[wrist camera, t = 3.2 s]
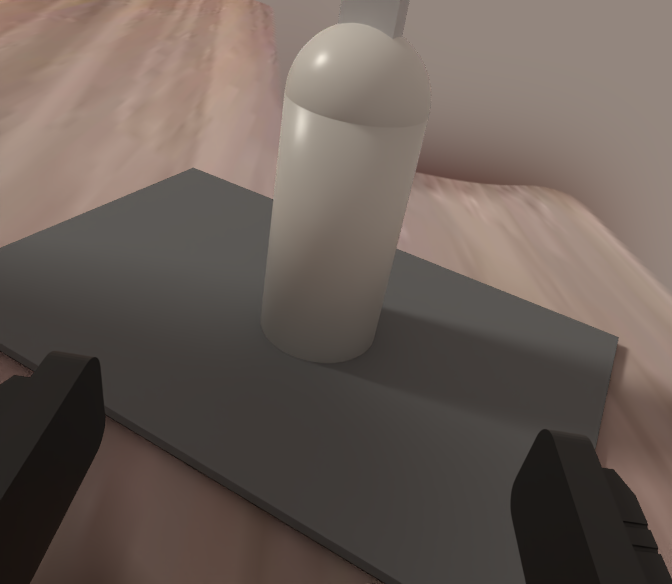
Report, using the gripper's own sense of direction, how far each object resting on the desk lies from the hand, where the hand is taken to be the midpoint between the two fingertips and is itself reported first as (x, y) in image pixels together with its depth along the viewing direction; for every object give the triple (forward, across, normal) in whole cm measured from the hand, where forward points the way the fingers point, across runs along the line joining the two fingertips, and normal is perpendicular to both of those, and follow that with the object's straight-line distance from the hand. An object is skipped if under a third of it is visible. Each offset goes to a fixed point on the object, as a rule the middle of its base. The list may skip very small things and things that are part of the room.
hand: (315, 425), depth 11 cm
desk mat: (+12, +1, +7) cm, 13 cm away
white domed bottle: (+11, 0, +6) cm, 13 cm away
